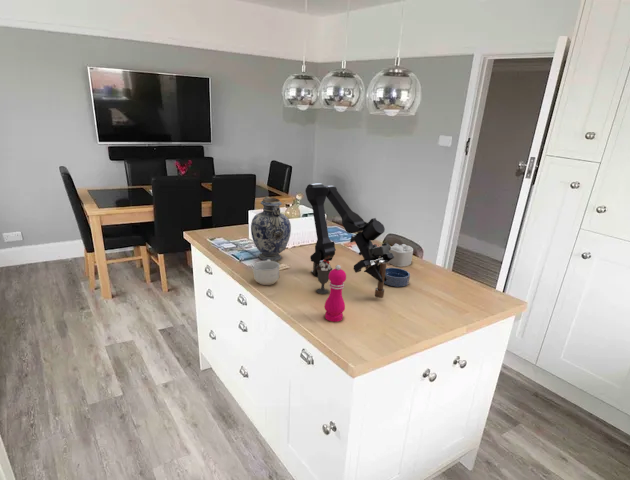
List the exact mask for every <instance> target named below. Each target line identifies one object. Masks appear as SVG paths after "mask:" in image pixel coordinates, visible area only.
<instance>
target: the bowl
mask: <svg viewBox="0 0 630 480" xmlns="http://www.w3.org/2000/svg"><path fill="white" fill-rule="evenodd" d="M386 276H387V280H386V281H384V285H387V286H390V287H394V288H395V287H396V288H400V287H406V286H408V285H409V283H410V278H411V273H410V272H409V271H408V270H405V269H402V268H400V267H386Z"/></svg>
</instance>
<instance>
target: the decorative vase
mask: <svg viewBox="0 0 630 480" xmlns="http://www.w3.org/2000/svg"><path fill="white" fill-rule="evenodd" d="M260 204H261V205H262V206H263V208H262V210H263V211H261V212H259V213H256V214H255V215H254V216H253V218H252V219H251V224H250V232H251V238H252V241H253V243H254V246H255V247H256V249H257V250H258V251H259V253H260V254H258V258H259V259H260V260H261V261H267V260H271V261H275V262H278V261H280V260H282V256H281V253H283V252H284V251H285V250H286V249H287V246H288V244H289V241H290V237H291V233H292V225H291V221H290V219H289V217H287V216H286V214H284V213H281V207H280V206H282V205H283V202H281V200H280V199H279V198H276V197H269V196H267V195H266V196H265V198H263V199H262V201H260Z"/></svg>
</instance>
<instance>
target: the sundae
mask: <svg viewBox="0 0 630 480" xmlns="http://www.w3.org/2000/svg"><path fill="white" fill-rule="evenodd" d="M329 257H330V256H328V257H327V258H329ZM316 270H317V271H318V276H317V279H318V282H319V283H320V284H321V286H320V288H317V289H316V293H317V294H320V295H327V294H329V293H330V291H329V290H328V289H327V288H325V285H326V284H327V283H328V282H329V281H330V280H329V273H330V271H331V270H333V267H332V266H331V263H330V261H327V262H326V259H325V260H323V261H322V262H321V263H320V264H319V265H318V264H317V267H316Z"/></svg>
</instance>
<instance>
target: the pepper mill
mask: <svg viewBox="0 0 630 480" xmlns="http://www.w3.org/2000/svg"><path fill="white" fill-rule="evenodd" d="M328 281H329V285H328V286H329V288H330V291H329V295H328V297H327V299H326V300H325V303H324V310H325V312H324V313H325V314H324V318H325V319H326V320H327V321H328V322H332V323H337V322H341V321H342V320H343V318H344V314H343V313H344V311H345V310H346V304H345V300H344V297H343V289H344V288H345V286H344V285H345V281H347V273H346V272H345V271H344V270H343V269H342V266H341V265H340V264H337V265H335V268H332V270H331V271H330V273H329V280H328Z"/></svg>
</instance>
